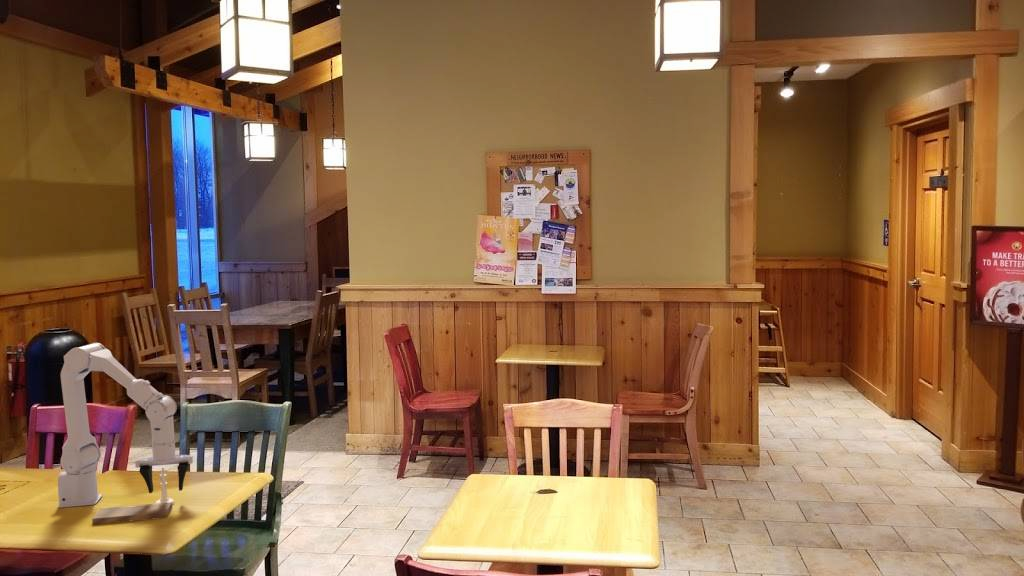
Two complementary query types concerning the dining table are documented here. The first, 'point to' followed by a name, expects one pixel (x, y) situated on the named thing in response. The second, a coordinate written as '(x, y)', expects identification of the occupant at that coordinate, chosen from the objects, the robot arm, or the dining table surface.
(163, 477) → the chess piece
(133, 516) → the walnut board
